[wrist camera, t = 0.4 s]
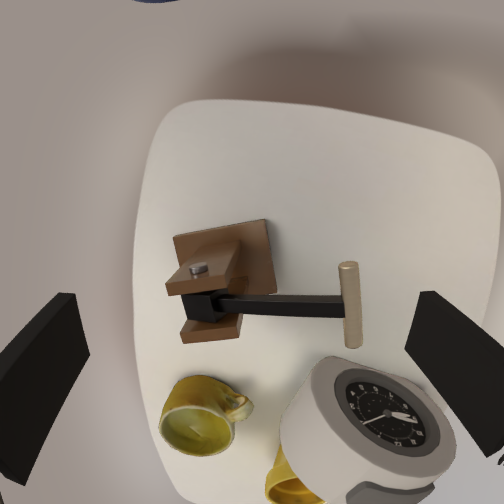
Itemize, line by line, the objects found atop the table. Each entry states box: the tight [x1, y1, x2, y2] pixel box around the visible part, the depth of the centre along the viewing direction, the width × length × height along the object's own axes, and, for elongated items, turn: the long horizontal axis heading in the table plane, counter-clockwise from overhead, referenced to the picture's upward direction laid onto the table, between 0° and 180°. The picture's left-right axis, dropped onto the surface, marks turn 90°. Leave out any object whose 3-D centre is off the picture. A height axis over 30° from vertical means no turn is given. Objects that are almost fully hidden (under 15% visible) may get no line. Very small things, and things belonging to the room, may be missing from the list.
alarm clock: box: [279, 356, 457, 504], centre depth 28 cm, size 21×8×20 cm, turn 67°
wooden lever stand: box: [165, 219, 277, 344], centre depth 28 cm, size 10×8×13 cm
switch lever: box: [181, 261, 363, 349], centre depth 21 cm, size 13×6×2 cm, turn 100°
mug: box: [159, 375, 254, 457], centre depth 35 cm, size 12×10×10 cm
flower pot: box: [265, 444, 325, 504], centre depth 36 cm, size 10×10×10 cm
